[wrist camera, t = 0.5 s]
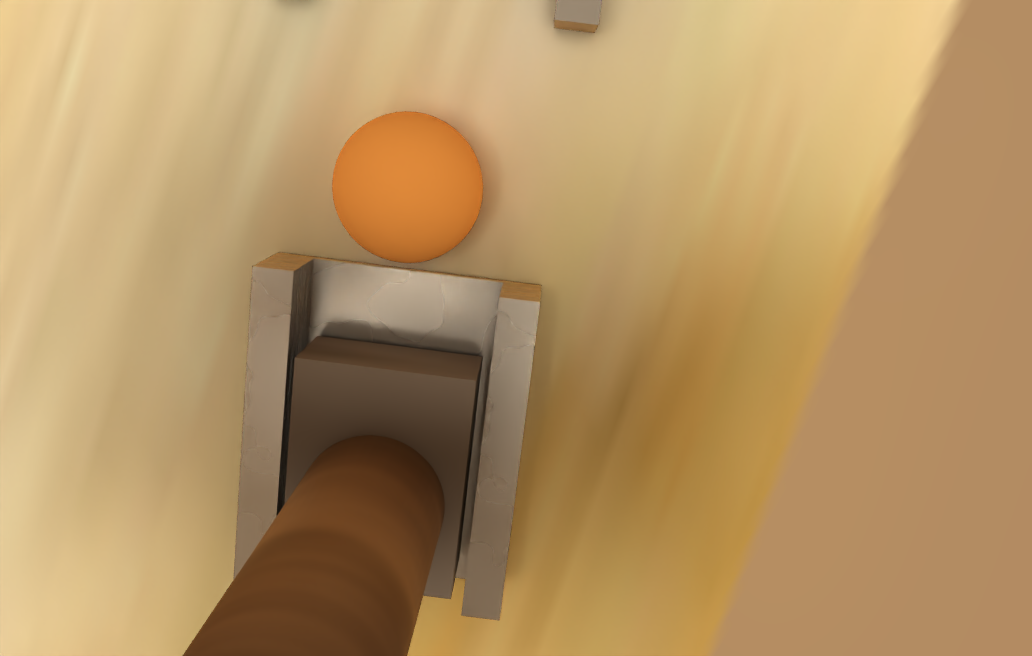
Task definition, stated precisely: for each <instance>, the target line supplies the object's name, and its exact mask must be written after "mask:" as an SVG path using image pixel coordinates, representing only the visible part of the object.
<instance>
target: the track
mask: <svg viewBox="0 0 1032 656" xmlns="http://www.w3.org/2000/svg"><path fill="white" fill-rule="evenodd" d="M541 287H542V285H536V284H528V283H520V282H512V281H504V280H496V279H488V278H480V277H472V276H464V275H457V274H449V273H441V272H433V271H425V270H417V269H409V268H401V267H393V266H385V265H377V264H369V263H361V262H353V261H345V260H337V259H329V258H321V257H313V256H305V255H297V254H290V253H282V252H278V253H276V254H274V255H272V256H270V257H269V258H267V259H265V260H263V261H261V262H259V263H257V264H256V265H254V266H252V283H251V299H250V316H249V333H248V349H247V366H246V382H245V399H244V415H243V432H242V449H241V465H240V482H239V498H238V515H237V531H236V548H235V565H234V579H235V577H236V576H237V574H238V573H239V572H240V570H241V569H242V567H243V566H244V564H245V563H246V561H247V560H248V558H249V557H250V555H251V554H252V552H253V551H254V549H255V548H256V546H257V545H258V543H259V542H260V540H261V539H262V537H263V536H264V534H265V533H266V531H267V530H268V529H269V527H270V526H271V524H272V523H273V521H274V520H275V518H276V517H277V515H278V514H279V512H280V511H281V509H282V508H283V506H284V501H285V487H286V473H287V459H288V445H289V431H290V417H291V403H292V389H293V375H294V361H295V357H296V356H297V355H298V354H299V353H300V352H301V351H302V350H303V349H304V348H305V347H306V346H307V345H308V344H309V343H310V342H311V341H312V340H313V339H314V338H315V337H317V336H323V337H331V338H339V339H347V340H355V341H363V342H371V343H378V344H386V345H394V346H402V347H410V348H418V349H426V350H434V351H442V352H450V353H457V354H465V355H473V356H481V357H483V360H482V368H481V377H480V385H479V394H478V402H477V411H476V420H475V428H474V437H473V445H472V454H471V462H470V471H469V480H468V488H467V497H466V505H465V514H464V522H463V531H462V540H461V548H460V557H459V562H458V567H457V572H456V576H455V578H462V579H466V580H465V589H464V597H463V606H462V614H461V616H469V617H477V618H485V619H492V620H500V612H501V604H502V597H503V589H504V581H505V573H506V566H507V558H508V550H509V542H510V535H511V527H512V519H513V511H514V503H515V496H516V488H517V480H518V472H519V465H520V457H521V449H522V441H523V434H524V426H525V418H526V410H527V402H528V395H529V387H530V379H531V371H532V364H533V356H534V348H535V340H536V333H537V325H538V317H539V309H540V301H541Z"/></svg>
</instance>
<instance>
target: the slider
mask: <svg viewBox="0 0 1032 656" xmlns="http://www.w3.org/2000/svg"><path fill="white" fill-rule="evenodd" d="M482 360H483V357H481V356H473V355H465V354H457V353H450V352H442V351H434V350H426V349H418V348H410V347H402V346H394V345H386V344H378V343H371V342H363V341H355V340H347V339H339V338H331V337H323V336H317V337H315V338H314V339H313V340H312V341H311V342H310V343H309V344H308V345H307V346H306V347H305V348H304V349H303V350H302V351H301V352H300V353H299V354H298V355H297V356H296V357H295V361H294V375H293V389H292V403H291V417H290V431H289V445H288V459H287V473H286V487H285V501H284V506H283V508H282V509H281V511H280V512H279V514H278V515H277V517H276V518H275V520H274V521H273V523H272V524H271V526H270V527H269V529H268V530H267V531H266V533H265V534H264V536H263V537H262V539H261V540H260V542H259V543H258V545H257V546H256V548H255V549H254V551H253V552H252V554H251V555H250V557H249V558H248V560H247V561H246V563H245V564H244V566H243V567H242V569H241V570H240V572H239V573H238V574H237V576H236V577H235V579H234V580H233V582H232V583H231V585H230V586H229V588H228V589H227V591H226V592H225V594H224V595H223V597H222V598H221V600H220V601H219V603H218V604H217V606H216V607H215V609H214V610H213V612H212V613H211V615H210V616H209V617H208V619H207V620H206V622H205V623H204V625H203V626H202V628H201V629H200V631H199V632H198V634H197V635H196V637H195V638H194V640H193V641H192V643H191V644H190V646H189V647H188V649H187V650H186V652H185V653H184V655H183V656H407V654H408V650H409V646H410V642H411V639H412V635H413V631H414V627H415V624H416V620H417V616H418V613H419V609H420V605H421V601H422V598H423V596H431V597H438V598H446V599H451V595H452V591H453V586H454V581H455V576H456V572H457V567H458V562H459V557H460V548H461V540H462V531H463V522H464V514H465V505H466V497H467V488H468V480H469V471H470V462H471V454H472V445H473V437H474V428H475V420H476V411H477V402H478V394H479V385H480V377H481V368H482Z"/></svg>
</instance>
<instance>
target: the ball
mask: <svg viewBox="0 0 1032 656" xmlns="http://www.w3.org/2000/svg"><path fill="white" fill-rule="evenodd" d="M332 191H333V200H334V204H335V208H336V211H337V214H338V216H339V219H340V220H341V222H342V224H343V226H344V228H345V229H346V230H347V232H348V233H349V235H350V236H351V237H352V238H353V239H354V240H355V241H356V242H357V243H358V244H359V245H361V246H362V247H363V248H364V249H366V250H368V251H369V252H371V253H372V254H375V255H377V256H379V257H381V258H384V259H387V260H390V261H395V262H402V263H416V262H423V261H428V260H431V259H434V258H437V257H439V256H441V255H443V254H445V253H447V252H448V251H450V250H451V249H452V248H454V247H455V246H456V245H458V244H459V243H460V242H461V241H462V240H463V239H464V238H465V236H466V235H467V234H468V233H469V231H470V230H471V228H472V227H473V225H474V223H475V221H476V219H477V217H478V214H479V211H480V208H481V202H482V196H483V181H482V174H481V169H480V166H479V163H478V160H477V158H476V156H475V154H474V152H473V150H472V148H471V147H470V145H469V144H468V142H467V141H466V140H465V139H464V138H463V136H462V135H461V134H460V133H459V132H458V131H456V130H455V129H454V128H453V127H451V126H450V125H448V124H447V123H445V122H444V121H442V120H440V119H438V118H436V117H433V116H430V115H427V114H423V113H418V112H406V111H405V112H395V113H390V114H386V115H383V116H380V117H377V118H375V119H373V120H372V121H370V122H368V123H366V124H365V125H363V126H362V127H361V128H359V129H358V130H357V131H356V132H355V133H354V134H353V135H352V136H351V137H350V138H349V140H348V141H347V142H346V143H345V145H344V147H343V148H342V150H341V152H340V154H339V156H338V159H337V161H336V165H335V169H334V174H333V181H332Z"/></svg>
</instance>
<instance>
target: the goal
mask: <svg viewBox="0 0 1032 656" xmlns="http://www.w3.org/2000/svg"><path fill="white" fill-rule="evenodd" d="M601 4H602V0H557V2H556V10H555V18H554V28H559V29H567V30H575V31H583V32H591V33H595V31H596V29H597V27H598V25H599V19H600V12H601Z"/></svg>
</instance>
